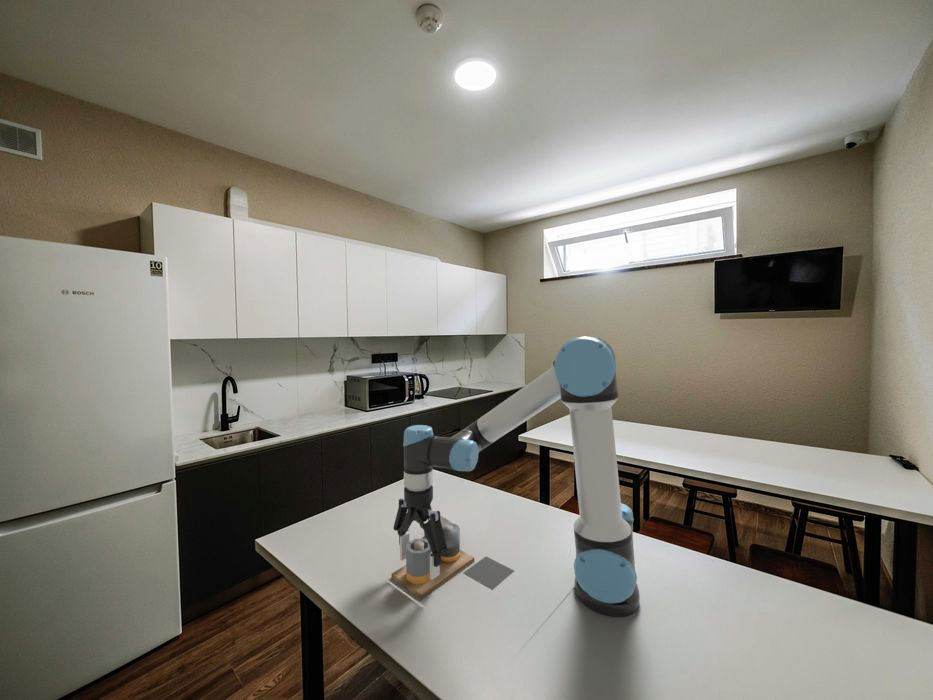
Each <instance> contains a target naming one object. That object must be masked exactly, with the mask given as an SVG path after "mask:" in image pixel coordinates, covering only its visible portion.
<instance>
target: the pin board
mask: <svg viewBox="0 0 933 700" xmlns="http://www.w3.org/2000/svg"><path fill="white" fill-rule="evenodd" d="M441 525H442V529H443V533H444V537H445V541H446V545H447V551H446V552H445V553H443V554H441V565H440V575H439V576H437V577H436V578H434V579H433V580H431V579H430V580H428V581H427V582H425V583H420V584H413V583H411V582H410V581H408V580H407V579H406V564H405V565H403V566H402V567H400V568H398V569H396V570H395V571H394V572H392V573H391V579H393V581H395V582H397V583H398V584H399V585H401V586H402V587H403V588H405V589H406V590H408V591H409V592H411V593H412V594H414V595H415V596H416V597H417V598H419V599H420V600H423V599H424V598H426V597H427V596H428V595H430V594H431V593H433V592H434V591H436V589H438V588H439V587H442V585H444V584H445V583H446V582H448V581H449V580H451V579H452V578H454V577H455V576H457V575H458V574H460V573H461V572H462V571H463V570H465V569H466V568H468V567H469V566H470V565H472V563H474V562H475V556H473V555H470V554H469V553H467V552H465V551H463V550H461V535H460V534H461V530H460V529H461V528H460V526H459V525H458V524H456V523H453V522H452V523H444V524H441ZM435 549H436V547H435ZM422 550H424V542H422V541H417V542H415V543H414V551H422Z"/></svg>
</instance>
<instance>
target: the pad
mask: <svg viewBox="0 0 933 700" xmlns="http://www.w3.org/2000/svg"><path fill="white" fill-rule="evenodd" d="M514 572H515V570H514V569H512V568H510V567H508V566H506V565H504V564H502V563H500V562H498V561H496V560H494V559H493V558H491V557H489V556H484V557H483V558H481V559H480V560H479V561H478V562H476V563H475V564H473V565H472V566H470V567H469V568H468V569H466V570H465V571H464V572H463V574H464V575H465V576H467V577H469V578H471V579H472V580H474V581H476V582H477V583H478V584H479V583H480V584H481V585H483V586H484V587H487V588H488V589H490V590H492V591H493V590H494V589H495V588H497V587H498V586H499V585H500V584H501V583H502V582H503V581H505V579H507V578H508V577H510V575H512V574H513V573H514Z"/></svg>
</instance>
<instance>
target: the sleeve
mask: <svg viewBox="0 0 933 700" xmlns="http://www.w3.org/2000/svg"><path fill="white" fill-rule="evenodd" d="M417 541H422V542H424V550H422V551H414V543H415V542H417ZM431 552H432V551H431V548H430V546H429V543H428V540H427V539H425V537H424V538H414V539H412V540H409V542H408V543H407V547H406V559H405V563H406V564H405V565H406V579H407V580H408V581H410V582H411V583H413V584H420V583H425V582H427V581H428V580H430V553H431Z"/></svg>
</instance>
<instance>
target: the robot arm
mask: <svg viewBox="0 0 933 700" xmlns="http://www.w3.org/2000/svg"><path fill="white" fill-rule="evenodd" d="M618 392H619V390H618V381H617V362H616V356H615V352H614V350H613V348H612V347H611V346H610V344H609V343H608V342H606V341H605V340H604V339H601V338H600V337H597V336H596V337H595V336H590V335H586V336H584V335H582V336H579V337H578V336H577V337H573V338H571V339H570V340H568V341H566V342H565V343H564V344H563V345H562V346H561V347H560V349H559V350H558V352H557V355H556V357H555V359H554V361H552V362H551V366H550V368H549V369H548V370H546V371H545V372H543V373H542V374H541V375H539V376H538V377H536V378H535V379H534V380H532V381H530V383H528V384H526V385H525V386H523V387H522V388H520V389H519V390H518V391H517V392H515V393H514V394H511V395H510V396H509V397H507V399H505V400H504V401H502V402H501V403H499V404H498V405H496V406H495V407H494V408H492V409H491V410H490V411H488V412H487V413H485V414H484V415H482V416H480V418H478V419H477V420H475V421H473V422H472V423H471V424H469V425H467V426H466V427H465V428H463V429H462V430H460V431H459V432H457V433H456V434H454V435H452V436H450V437H448V436H447V437H445V436H437V435H434V431H433V428H432V426H429V425H424V424H415V425H410V426H408V427H406V429H405V430H404V431H403V444H402V447H403V464H404V465H403V486H404V487H403V495H404V496H403V497H402V498H400V499H398V508H397V512H396V516H395V520H394V523H393V530H394V532H395V531H396V532H397V535H398V545H399V560H400V561H402V562H403V561H404V560H406V547H407V543H408V542H410V533H409V532H408V531H409V530H410V527H411V525H413V524H412V523H413V522H414V521H415V522H416V523H417V524H419V526H420V528H421V529H422V530H423V534H424V533H425V535H426V538H427V540H428V543H429V546H430V548H431V551H432V552H431V553H430V579H431V580H433V579H434V578H436V577H437V576H439V575H440V565H441V554H443V553H445V552H446V551H447V545H446V541H445V537H444V533H443V529H442V525H441V521H440V516H441V512H440V510H437V511H435V510H432V509H433V508H432V502H433V499H434V486H433V482H434V480H433V478H434V476H433V475H434V472H433V471H434V470H433V467H434V468H435V467H436V468H440V469H441V468H442V469H447V470H454V471H456V472H471V471H473V470H474V469H475V468H476V466H477V463H478V461H479V453H480V452H481V451H483V450H484V449H486V448H487V447H489V446H490V445H492V444H493V443H495V442H496V441H498V440H499V439H501V438H502V437H504V436H505V435H506V434H508V433H509V432H511V431H512V430H515V429H516V428H518V427H519V426H520V425H522V424H524V423H525V422H526V421H528V420H529V419H531V418H532V417H534V416H535V415H537V414H539V413H540V412H542V411H543V410H545V409H547V408H548V407H550V406H551V405H552V404H554V403H556V402H557V401H558V400H560V401H561V404H563V405H565V407H567V408H568V409H569V418H570V419H569V420H570V428H571V439H572V440H571V441H572V449H573V461H574V469H575V479H576V480H575V481H576V482H575V483H576V491H577V492H576V493H577V500H578V501H577V503H578V511H579V517H577V518H576V519H575V520H574V522H573V531H574V532H573V533H574V543H575V559H574V561H573V562H574V563H573V569H574V576H575V577H574V592H575V595H576V596H577V598H578V599H579V600H580V602H581V603H583V604H584V605H585V606H586V607H587V608H589V609H591V610H593V611H595V612H596V613H599V614H602V615H606V616H610V617H627V616H630V615H632V614H634V613H635V612H636V611H637V610H638V609H639V607H640V590H639V587H638V584H637V581H638V579H637V578H638V577H637V576H638V575H637V573H636V566H635V562H636V561H635V551H634V549H635V548H634V538H633V536H634V533H633V532H634V531H633V529H634V524H633V523H634V520H635V519H634V514H633V511H632V508H630V506H628V505H627V504H625V503H622V500H621V491H620V480H619V479H620V478H619V471H618V470H619V468H618V462H617V452H616V451H617V450H616V440H615V430H614V421H613V420H614V419H613V410H612V407H613V406H614V404H615V403H616V402H617V401H618V400H619V393H618ZM435 547H436V549H435Z"/></svg>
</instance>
